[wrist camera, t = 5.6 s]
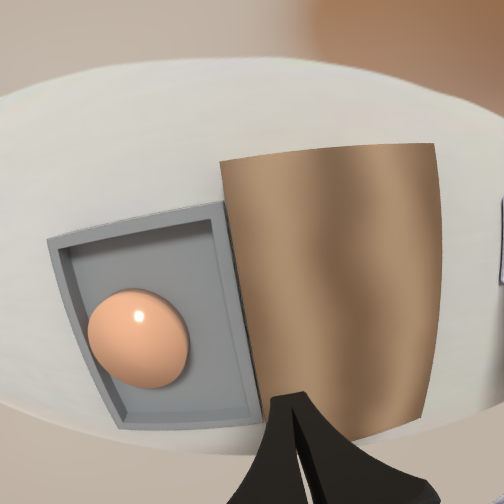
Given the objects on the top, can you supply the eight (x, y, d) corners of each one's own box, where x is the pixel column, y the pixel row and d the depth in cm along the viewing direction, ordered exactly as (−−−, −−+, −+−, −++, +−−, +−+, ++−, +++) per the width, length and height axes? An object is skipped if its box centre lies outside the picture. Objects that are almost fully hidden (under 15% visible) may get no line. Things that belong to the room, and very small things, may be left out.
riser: (400, 149, 18) (434, 143, 14) (401, 390, 22) (420, 417, 18) (223, 167, 18) (219, 161, 14) (268, 423, 22) (272, 458, 18)
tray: (224, 200, 18) (222, 201, 16) (261, 407, 21) (263, 422, 20) (60, 234, 18) (46, 239, 16) (124, 415, 21) (118, 429, 20)
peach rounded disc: (76, 298, 17) (86, 290, 18) (104, 386, 18) (112, 374, 20) (175, 293, 17) (180, 284, 19) (195, 388, 19) (197, 375, 20)
